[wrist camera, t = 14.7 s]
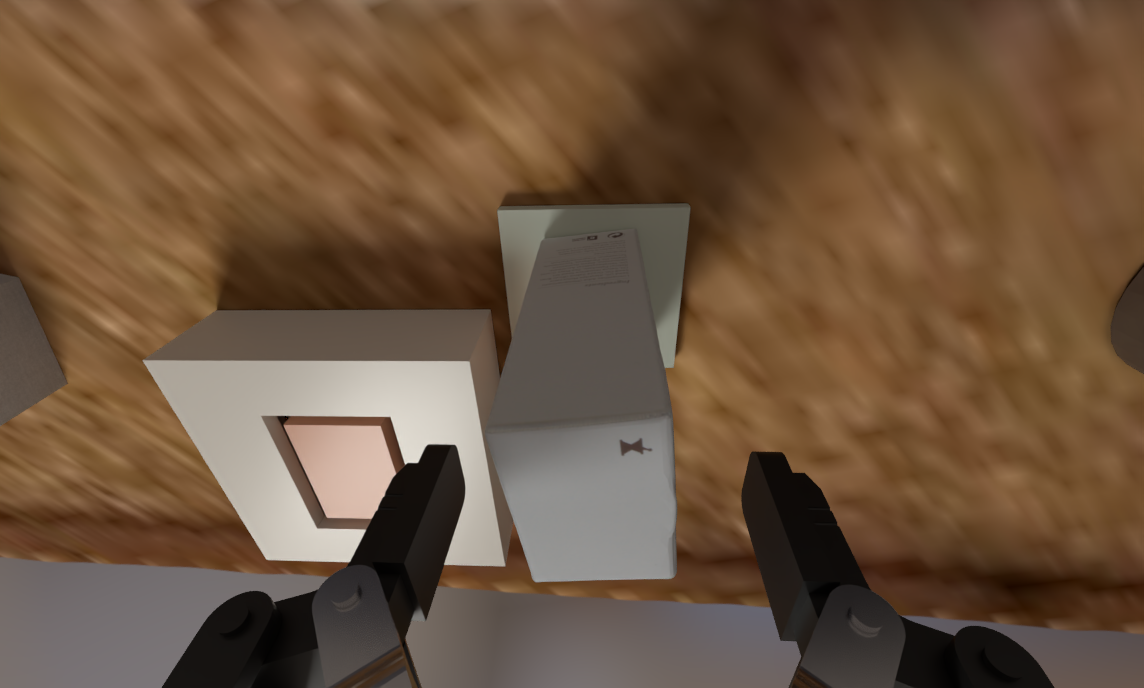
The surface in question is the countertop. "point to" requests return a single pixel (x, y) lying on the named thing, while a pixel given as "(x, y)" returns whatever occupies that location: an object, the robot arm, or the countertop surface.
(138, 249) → the countertop surface
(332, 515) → the button
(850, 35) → the countertop surface
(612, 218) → the mat
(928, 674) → the robot arm
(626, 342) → the skincare box
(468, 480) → the frame
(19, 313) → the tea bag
